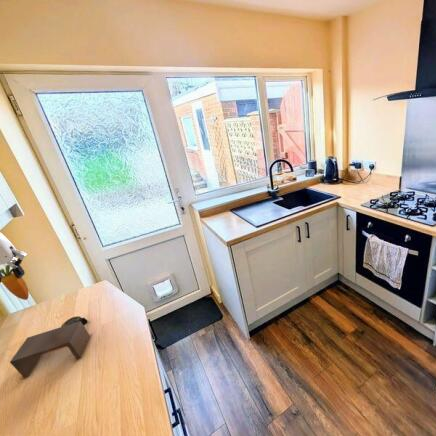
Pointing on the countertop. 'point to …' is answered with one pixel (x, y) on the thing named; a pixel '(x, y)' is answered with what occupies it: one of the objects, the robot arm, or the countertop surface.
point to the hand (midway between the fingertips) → (11, 278)
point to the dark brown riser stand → (50, 345)
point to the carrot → (14, 284)
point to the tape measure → (74, 321)
